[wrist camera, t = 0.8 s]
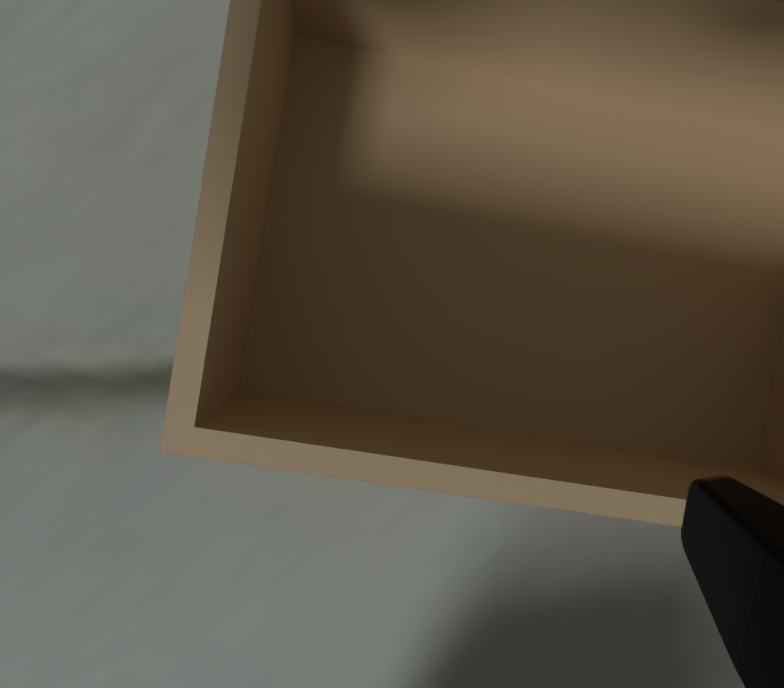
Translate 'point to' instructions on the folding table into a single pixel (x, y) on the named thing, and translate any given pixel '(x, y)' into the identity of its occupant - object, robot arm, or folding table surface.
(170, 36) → the folding table surface
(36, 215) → the folding table surface
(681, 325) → the carton
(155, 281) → the folding table surface
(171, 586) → the folding table surface
